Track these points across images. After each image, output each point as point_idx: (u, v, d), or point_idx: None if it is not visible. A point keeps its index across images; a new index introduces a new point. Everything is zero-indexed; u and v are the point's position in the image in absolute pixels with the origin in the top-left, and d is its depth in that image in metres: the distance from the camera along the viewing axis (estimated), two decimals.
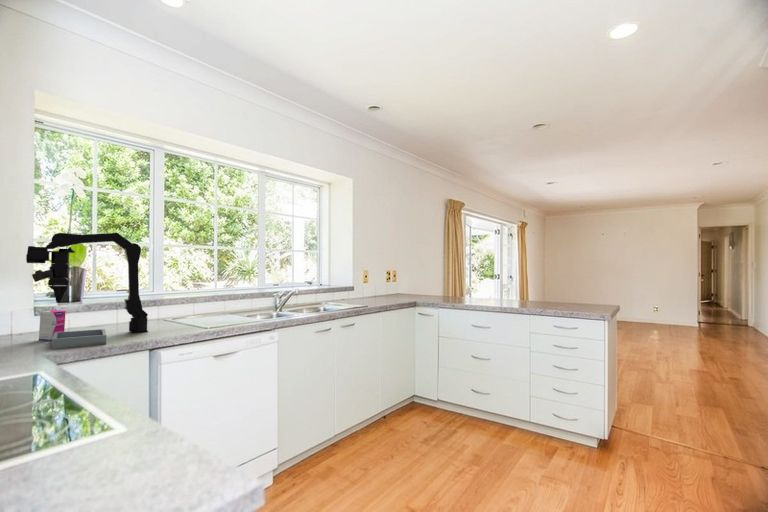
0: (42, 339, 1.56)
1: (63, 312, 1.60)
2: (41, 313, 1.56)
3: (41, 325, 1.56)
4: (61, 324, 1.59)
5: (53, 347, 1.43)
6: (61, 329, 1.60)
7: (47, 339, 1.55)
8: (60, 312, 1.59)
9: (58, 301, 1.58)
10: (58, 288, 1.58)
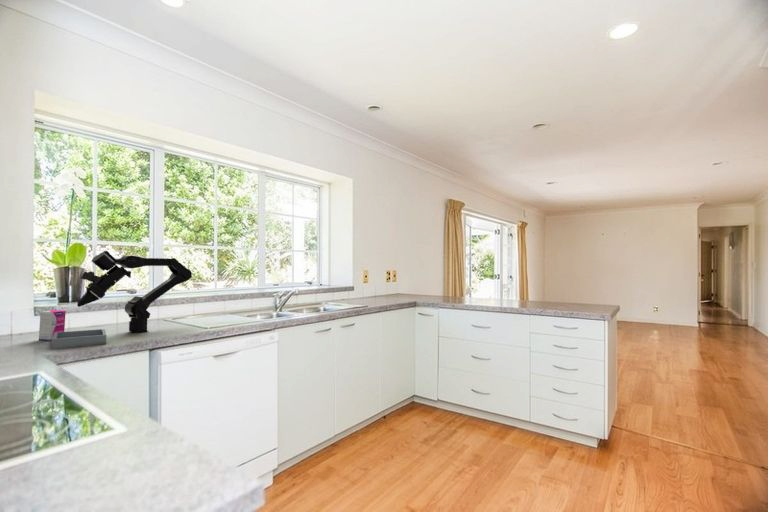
0: (42, 339, 1.56)
1: (63, 312, 1.60)
2: (41, 313, 1.56)
3: (41, 325, 1.56)
4: (61, 324, 1.59)
5: (53, 347, 1.43)
6: (61, 329, 1.60)
7: (47, 339, 1.55)
8: (60, 312, 1.59)
9: (79, 305, 1.60)
10: (90, 295, 1.62)
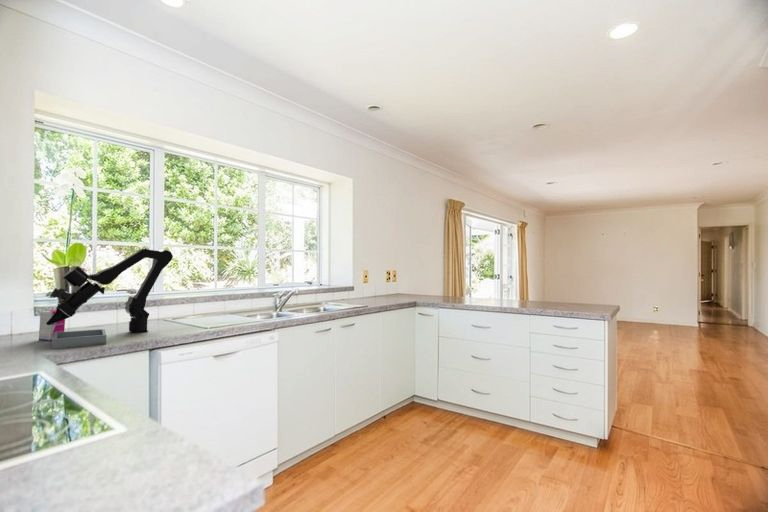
0: (42, 339, 1.56)
1: None
2: (41, 313, 1.56)
3: (41, 325, 1.56)
4: (61, 324, 1.59)
5: (53, 347, 1.43)
6: (61, 329, 1.60)
7: (47, 339, 1.55)
8: None
9: (48, 323, 1.55)
10: (60, 313, 1.56)
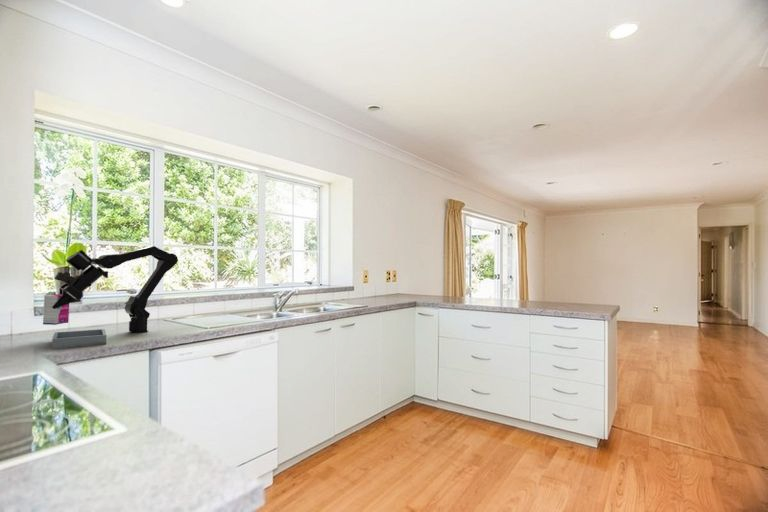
0: (47, 323, 1.55)
1: None
2: (45, 297, 1.55)
3: (45, 309, 1.55)
4: (66, 308, 1.59)
5: (53, 347, 1.43)
6: (66, 313, 1.59)
7: (53, 323, 1.54)
8: None
9: (54, 307, 1.54)
10: (67, 297, 1.56)
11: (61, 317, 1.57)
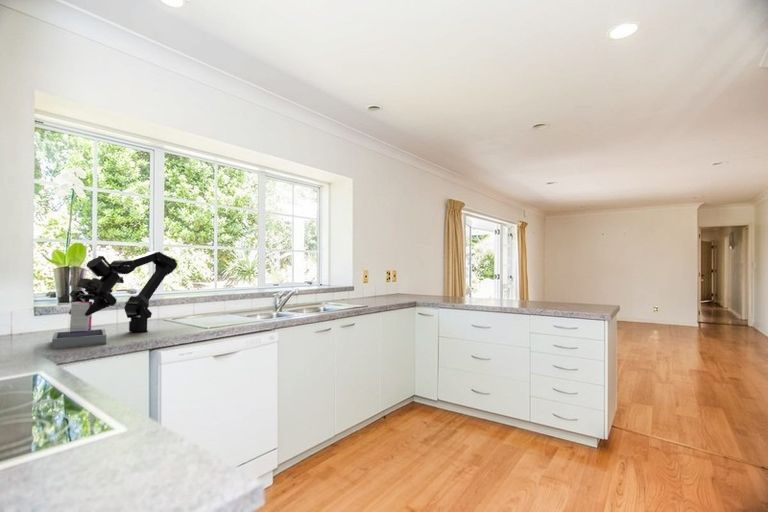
0: (75, 331, 1.51)
1: (91, 303, 1.57)
2: (73, 305, 1.51)
3: (73, 317, 1.51)
4: (91, 315, 1.57)
5: (53, 347, 1.43)
6: (90, 320, 1.57)
7: (83, 330, 1.52)
8: (91, 303, 1.56)
9: (87, 314, 1.52)
10: (98, 303, 1.55)
11: (89, 324, 1.55)
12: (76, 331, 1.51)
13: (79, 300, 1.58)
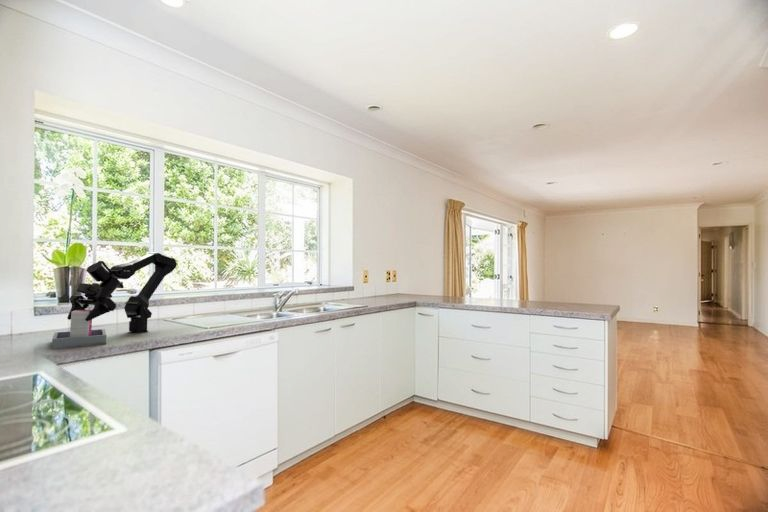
0: None
1: None
2: (73, 313, 1.51)
3: (73, 326, 1.51)
4: (91, 323, 1.56)
5: (53, 347, 1.43)
6: (90, 328, 1.57)
7: None
8: None
9: (88, 319, 1.52)
10: (99, 308, 1.55)
11: (89, 332, 1.55)
12: None
13: (77, 305, 1.58)
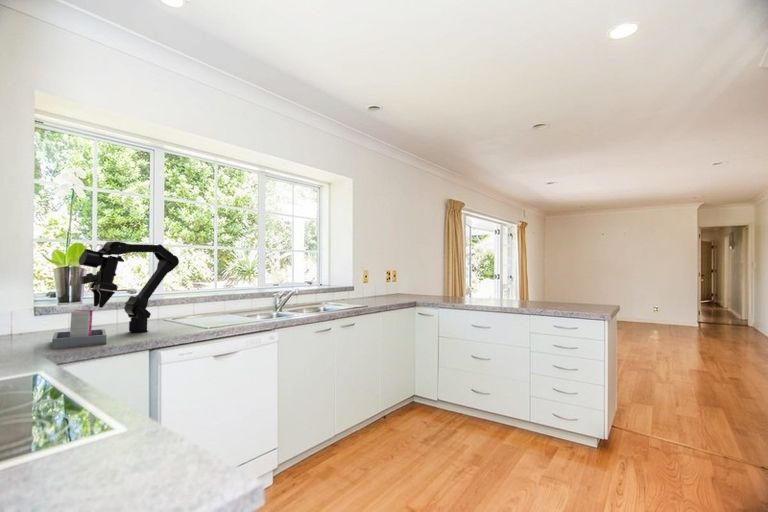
0: None
1: (92, 311, 1.57)
2: (73, 313, 1.51)
3: (73, 326, 1.51)
4: (91, 323, 1.56)
5: (53, 347, 1.43)
6: (90, 328, 1.57)
7: None
8: (91, 311, 1.56)
9: (101, 306, 1.62)
10: (105, 293, 1.62)
11: (89, 332, 1.55)
12: None
13: (97, 291, 1.69)
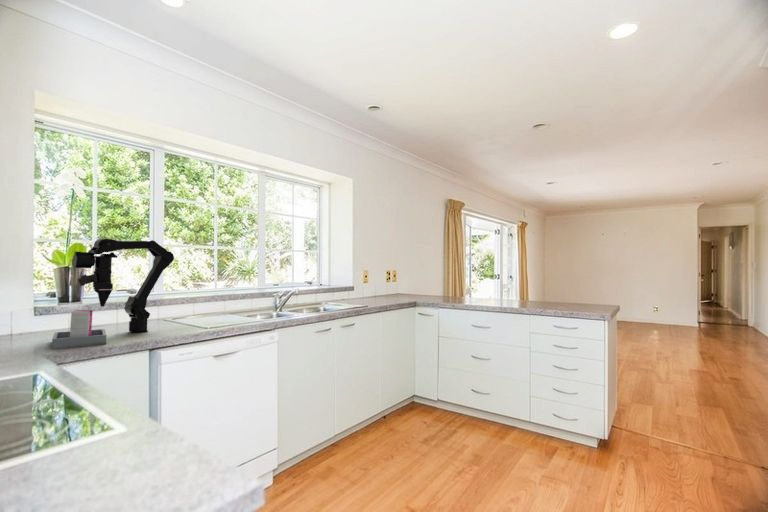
0: None
1: (92, 311, 1.57)
2: (73, 313, 1.51)
3: (73, 326, 1.51)
4: (91, 323, 1.56)
5: (53, 347, 1.43)
6: (90, 328, 1.57)
7: None
8: (91, 311, 1.56)
9: (102, 304, 1.64)
10: (102, 292, 1.63)
11: (89, 332, 1.55)
12: None
13: None
